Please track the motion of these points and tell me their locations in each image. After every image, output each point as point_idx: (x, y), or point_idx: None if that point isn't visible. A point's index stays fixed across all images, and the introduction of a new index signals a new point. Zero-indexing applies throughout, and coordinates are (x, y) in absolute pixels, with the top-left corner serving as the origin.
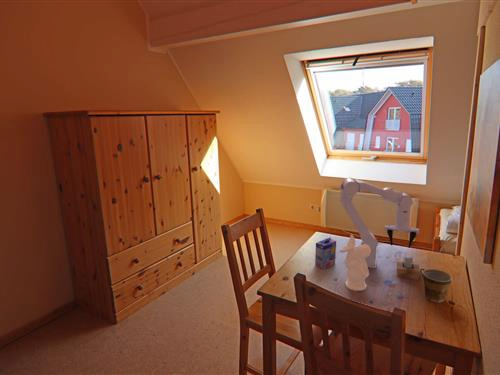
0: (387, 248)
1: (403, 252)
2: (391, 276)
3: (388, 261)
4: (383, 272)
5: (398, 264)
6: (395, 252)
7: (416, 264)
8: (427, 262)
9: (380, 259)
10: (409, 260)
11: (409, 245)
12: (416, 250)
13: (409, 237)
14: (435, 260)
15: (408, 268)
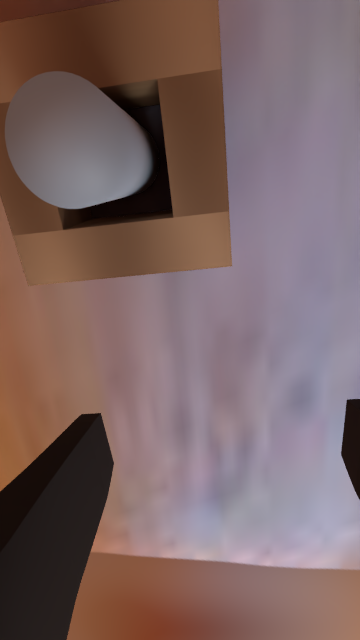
0: (297, 521)
1: (195, 500)
2: (263, 4)
3: (292, 336)
4: (344, 70)
5: (210, 137)
6: (244, 486)
7: (35, 238)
8: (36, 421)
9: (356, 346)
10: (46, 79)
11: (73, 435)
12: (126, 543)
13: (60, 637)
14: (3, 462)
15: (86, 68)
